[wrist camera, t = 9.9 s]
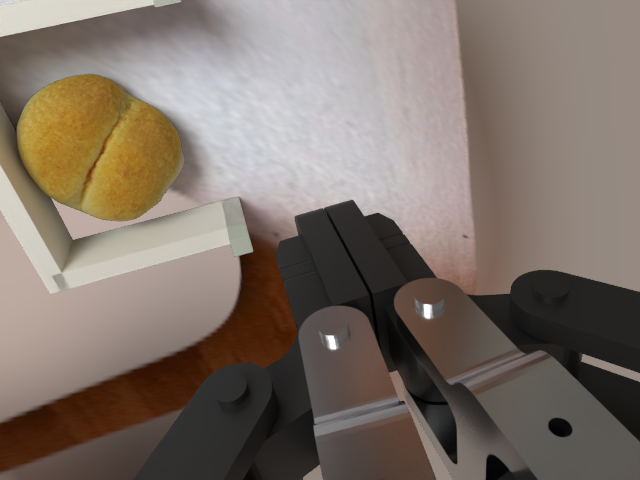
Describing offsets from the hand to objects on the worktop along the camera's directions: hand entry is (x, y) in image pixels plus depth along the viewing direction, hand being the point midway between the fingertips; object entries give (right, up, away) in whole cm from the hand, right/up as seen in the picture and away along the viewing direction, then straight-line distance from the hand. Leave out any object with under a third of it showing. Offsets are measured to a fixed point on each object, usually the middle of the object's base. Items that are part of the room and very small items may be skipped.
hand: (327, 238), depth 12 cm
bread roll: (-13, +6, +18) cm, 24 cm away
